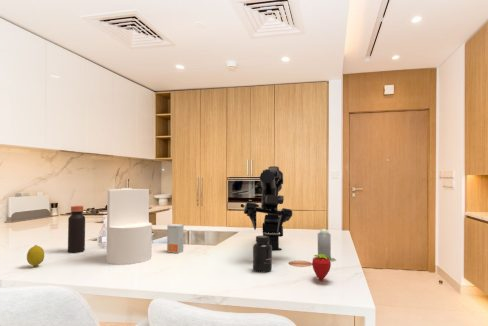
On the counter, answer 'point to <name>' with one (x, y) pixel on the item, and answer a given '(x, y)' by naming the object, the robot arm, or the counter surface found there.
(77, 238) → the vinegar
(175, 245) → the skincare box
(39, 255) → the lemon
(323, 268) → the strawberry
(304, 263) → the card
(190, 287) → the counter surface
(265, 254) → the supplement bottle
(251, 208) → the robot arm
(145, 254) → the white stepped holder
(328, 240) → the grey tube
